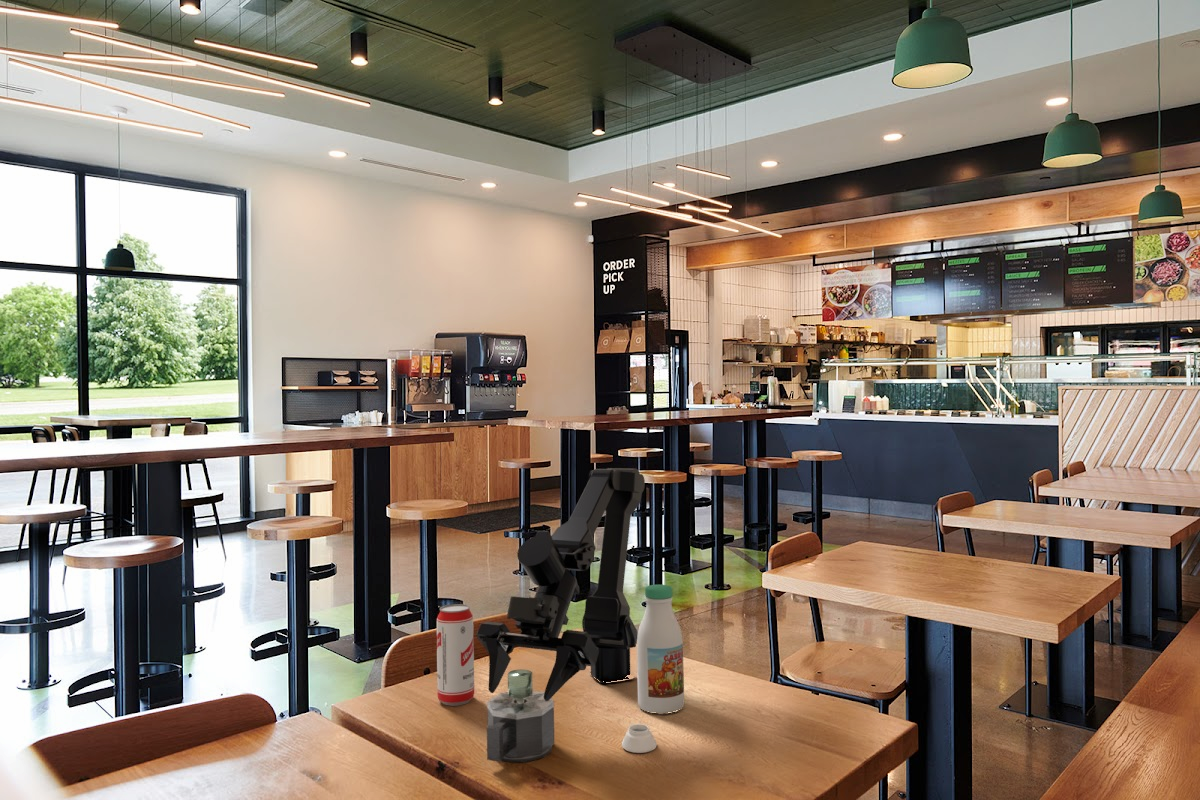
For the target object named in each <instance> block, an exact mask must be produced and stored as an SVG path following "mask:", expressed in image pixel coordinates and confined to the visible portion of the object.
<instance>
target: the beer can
mask: <svg viewBox="0 0 1200 800" xmlns="http://www.w3.org/2000/svg"><path fill="white" fill-rule="evenodd" d="M470 607H471V606H470V605H467V604H464V603H454V604H446V605H444V606H441V607H439V613H438V614H437V617H436V672H437V673H436V675H437V676H436V677H437V682H436V683H437V698H438V700H439V701H440V702H441V703H442V704H443V705H444V706H445V705H446V706H448V707H449V706H450V707H454V706H455V707H456V706H457V707H458V706H462V705H465V704H468V703H469V702H470V701H471V700H472V699H473V698H474V696H475V655H474V654H475V653H474V652H475V651H474V650H475V649H474V646H475V645H474V644H475V643H474V640H475V638H474V615H473V613H472V611H471V610H470Z"/></svg>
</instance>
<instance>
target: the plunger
mask: <svg viewBox="0 0 1200 800" xmlns="http://www.w3.org/2000/svg"><path fill="white" fill-rule="evenodd" d="M533 685H534V684H533V671H532V670H530V669H529V670H528V669H524V668H522V669H513V670H510V671H508V672H507V692H508V696H510V697H512V698H517V704H522V703H524V698H525V697H529V696H531V695H532V694H533V691H534V689H533Z"/></svg>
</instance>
